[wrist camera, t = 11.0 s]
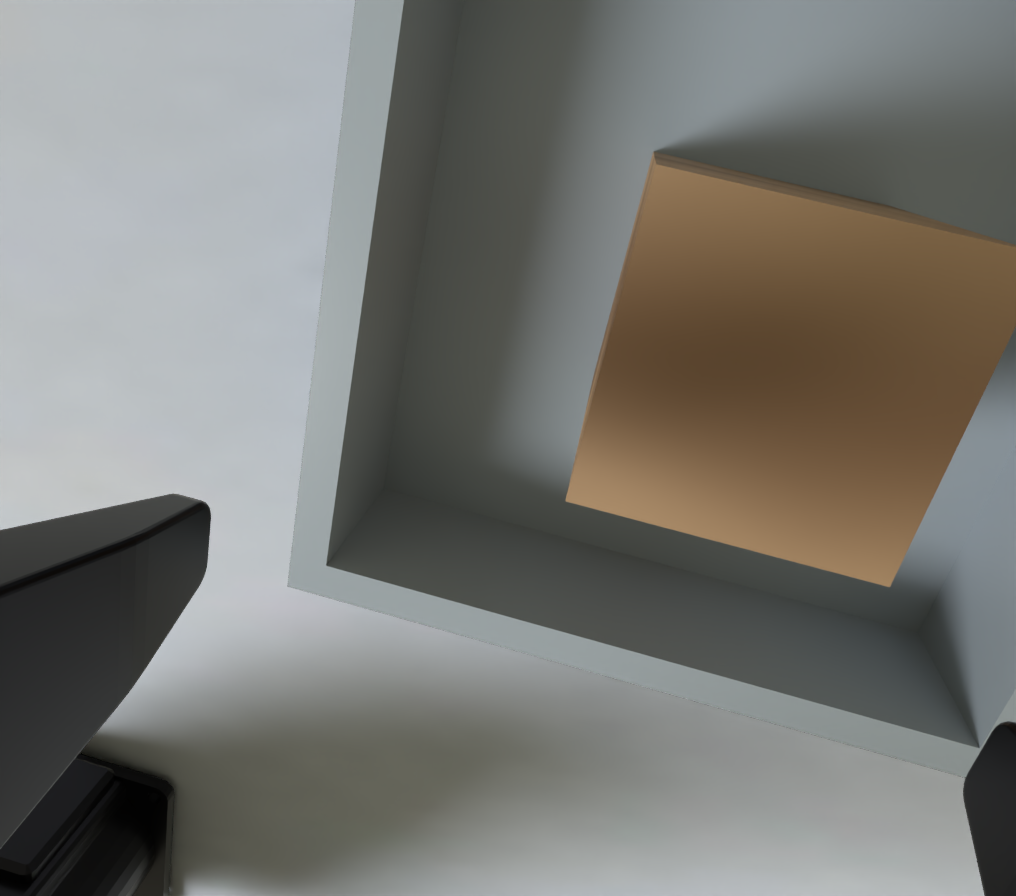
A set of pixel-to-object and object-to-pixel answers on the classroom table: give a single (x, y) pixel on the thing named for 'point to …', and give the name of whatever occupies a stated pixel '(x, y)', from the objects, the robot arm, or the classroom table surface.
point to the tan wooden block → (789, 367)
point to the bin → (580, 331)
